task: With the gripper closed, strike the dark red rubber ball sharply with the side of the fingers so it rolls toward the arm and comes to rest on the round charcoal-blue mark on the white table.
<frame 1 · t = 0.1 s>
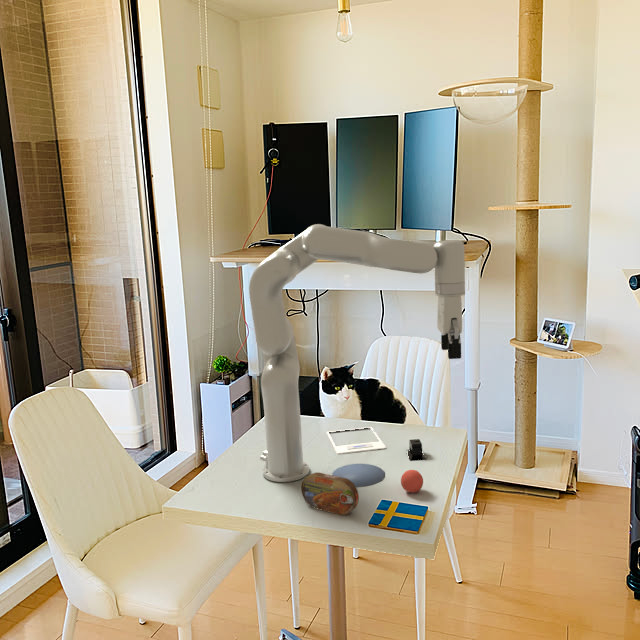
hand: (451, 353, 169), 31 cm above the table, tool pointing down, fingers open, 9 cm apart
photo frame: (355, 442, 197), on the table
black block: (415, 457, 184), on the table
ball: (412, 481, 161), on the table
tin: (330, 509, 155), on the table
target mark: (358, 475, 173), on the table
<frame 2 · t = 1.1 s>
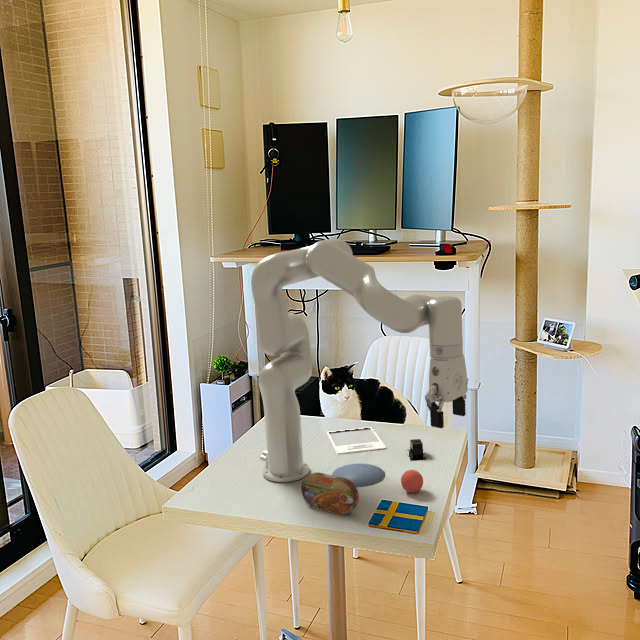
hand: (448, 420, 153), 20 cm above the table, tool pointing down, fingers open, 9 cm apart
nothing on the table moved.
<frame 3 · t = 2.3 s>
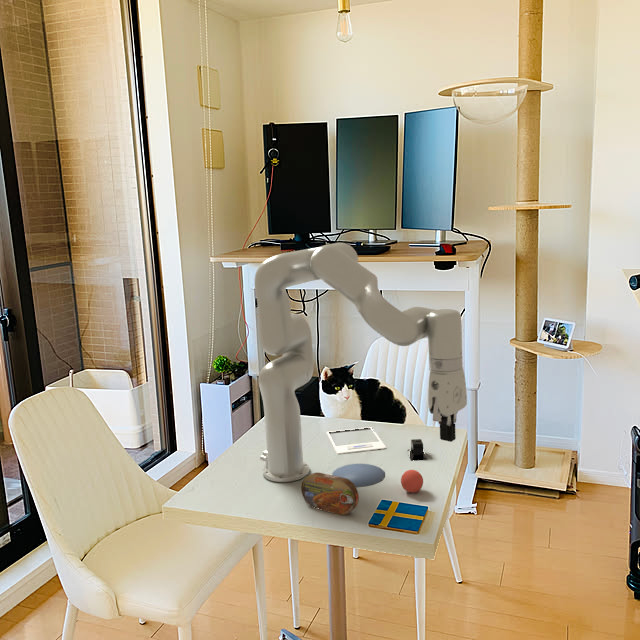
hand: (447, 439, 152), 16 cm above the table, tool pointing down, fingers closed
nothing on the table moved.
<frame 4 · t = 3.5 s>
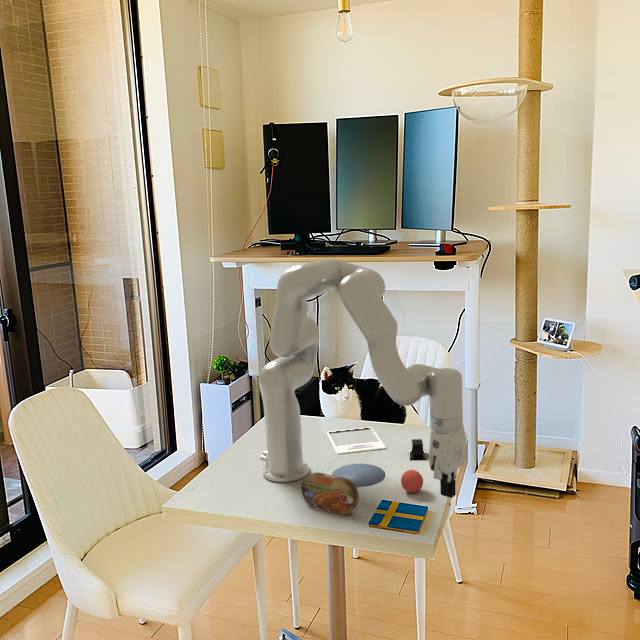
hand: (448, 495, 155), 2 cm above the table, tool pointing down, fingers closed
nothing on the table moved.
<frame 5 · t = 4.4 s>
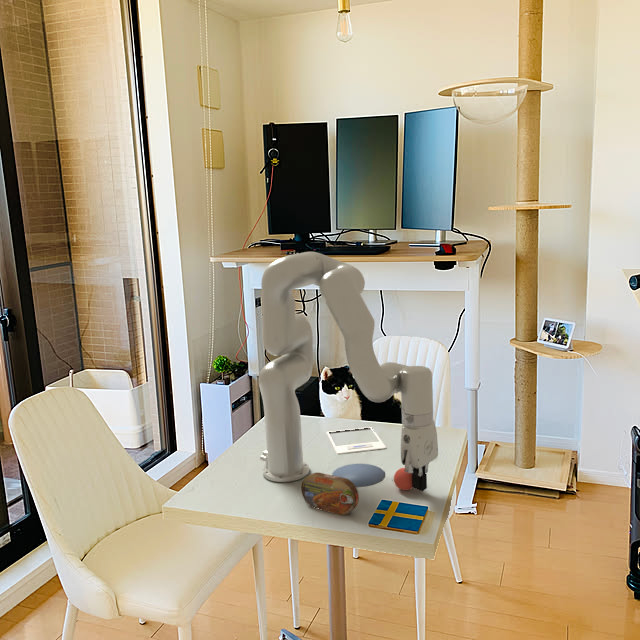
hand: (419, 488, 160), 1 cm above the table, tool pointing down, fingers closed
ball: (404, 478, 163), on the table, touching gripper
everything else where it was.
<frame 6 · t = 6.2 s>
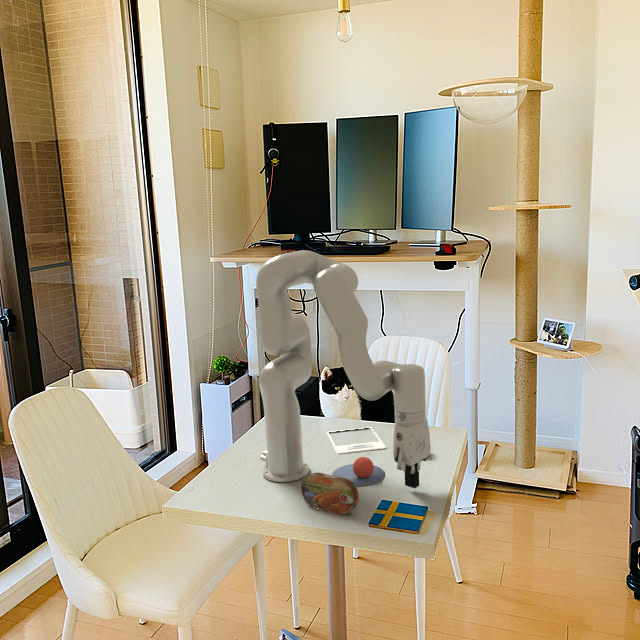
hand: (412, 485, 161), 2 cm above the table, tool pointing down, fingers closed
ball: (363, 467, 171), on the table
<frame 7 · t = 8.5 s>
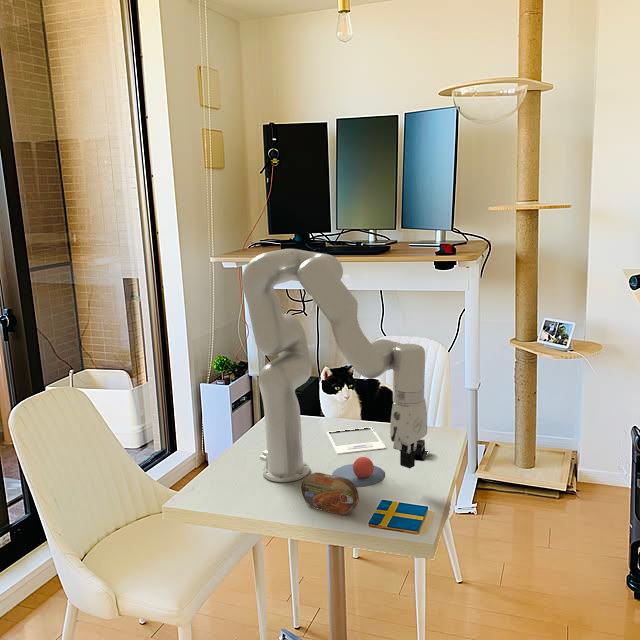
hand: (407, 465, 161), 7 cm above the table, tool pointing down, fingers closed
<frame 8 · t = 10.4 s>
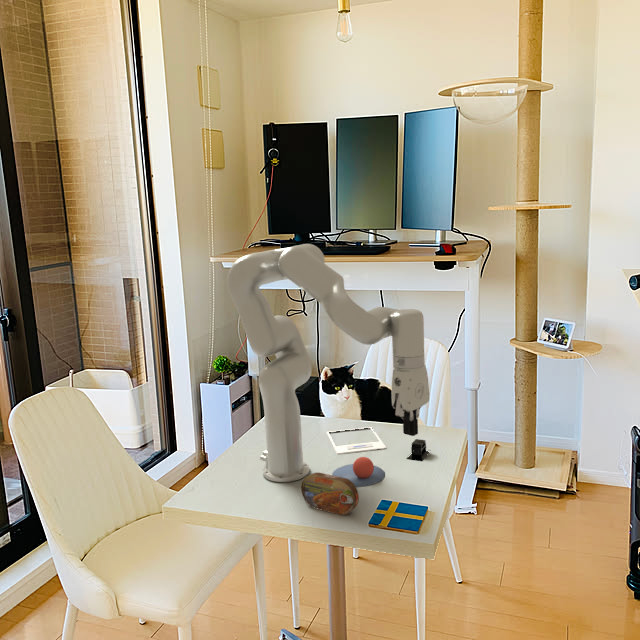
hand: (410, 433, 159), 15 cm above the table, tool pointing down, fingers closed
at the end: ball 2.1 cm from the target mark (horizontally); ball at rest at the end (0.0 cm/s); ball moved 14.9 cm from its start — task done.
